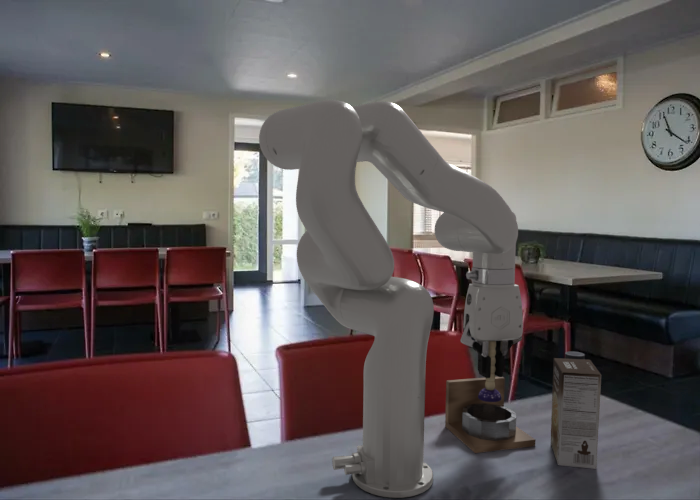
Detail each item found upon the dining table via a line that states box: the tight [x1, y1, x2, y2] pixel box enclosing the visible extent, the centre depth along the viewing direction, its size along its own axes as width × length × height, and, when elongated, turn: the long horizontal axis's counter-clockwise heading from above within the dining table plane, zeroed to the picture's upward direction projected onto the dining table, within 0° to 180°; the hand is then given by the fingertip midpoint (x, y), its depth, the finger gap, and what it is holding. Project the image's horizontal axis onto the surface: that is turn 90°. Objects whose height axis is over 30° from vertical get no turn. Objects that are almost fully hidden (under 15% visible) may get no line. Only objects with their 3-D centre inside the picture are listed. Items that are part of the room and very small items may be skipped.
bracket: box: [444, 376, 536, 454], centre depth 102 cm, size 12×12×9 cm
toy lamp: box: [478, 341, 502, 402], centre depth 102 cm, size 5×5×17 cm
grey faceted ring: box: [462, 403, 517, 441], centre depth 102 cm, size 10×10×3 cm
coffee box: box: [550, 357, 602, 470], centre depth 94 cm, size 9×6×16 cm
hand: (490, 374), depth 102 cm, fingers closed on toy lamp
